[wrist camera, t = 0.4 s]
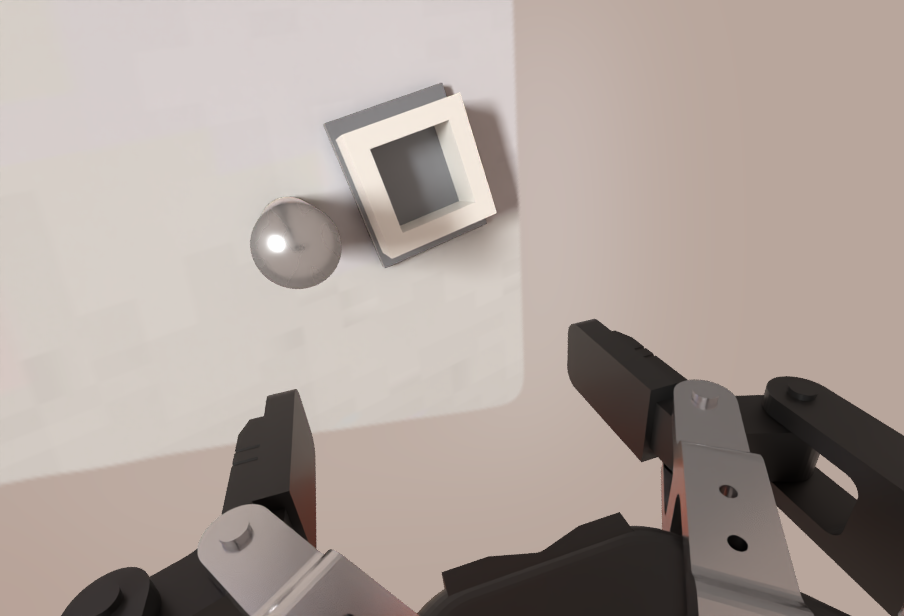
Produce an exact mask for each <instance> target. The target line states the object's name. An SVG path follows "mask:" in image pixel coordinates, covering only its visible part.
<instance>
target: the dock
mask: <svg viewBox="0 0 904 616" xmlns="http://www.w3.org/2000/svg"><path fill="white" fill-rule="evenodd" d="M324 128H325V130H326V133H327V135H328V137H329V140H330V142H331V144H332V147H333V149H334V152H335V154H336V156H337V159H338V161H339V163H340V166H341V168H342V171H343V173H344V175H345V178H346V180H347V183H348V185H349V187H350V190H351V192H352V194H353V197H354V199H355V202H356V204H357V206H358V209H359V211H360V213H361V216H362V218H363V221H364V223H365V225H366V228H367V230H368V232H369V235H370V237H371V240H372V242H373V244H374V247H375V249H376V251H377V254H378V256H379V259H380V261H381V263H382V266H383V267H384V268H387V267H389V266H391V265H394V264H396V263H398V262H400V261H403V260H405V259H407V258H410V257H412V256H414V255H416V254H419V253H421V252H423V251H425V250H428V249H430V248H432V247H435V246H437V245H439V244H441V243H444V242H446V241H448V240H450V239H453V238H455V237H457V236H460V235H462V234H464V233H466V232H469V231H471V230H473V229H475V228H478V227H480V226H482V225H485V224H487V223H486V220H485V218H487V217H489V216H491V215H494V214H496V213H497V212H496V208H495V205H494V202H493V199H492V195H491V192H490V189H489V185H488V182H487V179H486V176H485V172H484V169H483V166H482V163H481V159H480V156H479V153H478V149H477V146H476V143H475V140H474V136H473V133H472V130H471V126H470V123H469V120H468V117H467V113H466V110H465V107H464V103H463V100H462V97H461V94H460V93H457V94H454V95H451V96H449V97H447V96H446V93H445V90H444V87H443V84H442V83H439V84H437V85H434V86H431V87H428V88H425V89H422V90H419V91H416V92H414V93H411V94H408V95H405V96H402V97H399V98H396V99H393V100H391V101H388V102H385V103H382V104H379V105H376V106H373V107H371V108H368V109H365V110H362V111H359V112H356V113H353V114H350V115H348V116H345V117H342V118H339V119H336V120H333V121H330V122H327V123H325V124H324Z"/></svg>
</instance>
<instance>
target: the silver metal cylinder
mask: <svg viewBox="0 0 904 616" xmlns="http://www.w3.org/2000/svg"><path fill="white" fill-rule="evenodd" d="M250 248H251V254H252V257H253V260H254V262H255V264H256V266H257V267H258V269H259V270H260V271H261V273H262V274H263V275H264V276H265V277H266V278H268V279H269V280H270V281H272V282H274V283H276V284H278V285H280V286H283V287H286V288H292V289H303V288H309V287H312V286H315V285H317V284H319V283H321V282H323V281H324V280H326V279H327V278H328V277H329V276H330V275H331V274H332V273H333V272H334V270H335V268H336V267H337V265H338V263H339V260H340V256H341V239H340V235H339V232H338V230H337V228H336V226H335V224H334V223H333V221H332V220H331V219H330V218H329V217H328V216H327V215H326V214H325V213H324V212H322V211H321V210H319V209H318V208H316V207H314V206H312V205H310V204H308V203H307V202H305V201H303V200H301V199H298V198H294V197H281V198H278V199H276V200H274V201H272V202H271V203H269V204H268V205H267V206H266V207H265V209H264V211H263V212H262V214H261V216H260V217H259V219H258V221H257V222H256V224H255V226H254V228H253V231H252V234H251V240H250Z"/></svg>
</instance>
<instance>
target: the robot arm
mask: <svg viewBox="0 0 904 616" xmlns="http://www.w3.org/2000/svg"><path fill="white" fill-rule="evenodd" d="M567 366H568V367H567V368H568V374H569V377H570V380H571V382H572V384H573V386H574V387H575V388H576V389H577V391H578V392H579V393H580V394H581V395H582V396H583V397H584V398H585V400H586V401H587V402H588V403H589V404H590V405H591V406H592V407H593V408H594V410H595V411H596V412H597V413H598V414H599V415H600V416H601V417H602V419H603V420H604V421H605V422H606V423H607V424H608V425H609V426H610V427H611V429H612V430H613V431H614V432H615V433H616V434H617V435H618V436H619V437H620V439H621V440H622V441H623V442H624V443H625V444H626V445H627V446H628V447H629V449H631V451H632V452H633V453H634V454H635V455H636V457H637V458H638V459H639V460H640V461H641V462H644V461H647V460H650V459H653V458H656V457H659V458H660V460H662V467H661V498H662V499H661V501H662V530H661V529H657V528H651V527H644V526H629V524H628V523H627V522H626V520H625V519H624V518H623V516H622V515H621V514H620V512H619V513H616V514H613V515H610V516H607V517H604V518H601V519H598V520H595V521H592V522H589V523H586V524H583V525H581V526H578V527H577V528H575V529H574V530H572V531H571V532H569V533H568V534H567V535H565V536H564V537H562V538H561V539H559V540H558V541H557V542H555V543H554V544H552V545H551V546H549V547H548V548H547V549H545V550H543V551H541V552H538V553H529V554H517V555H504V556H490V557H486V558H483V559H480V560H477V561H474V562H471V563H468V564H465V565H462V566H460V567H456V568H453V569H450V570H448V571H444V572H442V576H443V582H444V588H445V589H444V590H442V591H441V592H440V593H438V594H437V595H435V596H434V597H433V598H432V599H431V600H430V601H429V602H427V603H426V604H425V605H424V606H423V607H422V609H421V610H420V611H419V612H418V613H415V612H414V611H413V610H411V609H410V608H409V607H408V606H407V605H405V604H404V603H403V602H401V601H400V600H399V599H397V598H396V597H395V596H394V595H393V594H391V593H390V592H389V591H388V590H386V589H385V588H384V587H382V586H381V585H380V584H379V583H377V582H376V581H375V580H374V579H372V578H371V577H370V576H368V575H367V574H366V573H365V572H363V571H362V570H361V569H360V568H358V567H357V566H356V565H354V564H353V563H352V562H350V561H349V560H348V559H347V558H346V557H344V556H343V555H342V554H340V553H339V552H337V551H335V550H332V549H330V550H328V551H327V552H326V553H325V554H322V553H321V552H320V551H318V550H317V549H316V481H315V480H316V477H315V476H316V475H315V474H316V473H315V448H314V442H313V437H312V433H311V430H310V427H309V423H308V420H307V417H306V414H305V411H304V408H303V404H302V401H301V398H300V395H299V392H298V391H297V389H294V390H290V391H286V392H282V393H278V394H273V395H269V396H267V400H266V407H265V413H264V416H263V417H259V418H255V419H251V420H249V421H248V423H247V424H246V426H245V427H244V428H243V430H242V431H241V432H240V434H239V435H238V440H237V444H236V450H235V451H236V454H234V459H233V467H232V468H231V473H230V478H229V482H228V487H227V492H226V496H225V501H224V506H223V510H222V515H221V516H220V517H218V518H217V519H216V520H215V521H214V522H212V523H211V525H210V526H209V527H208V528H207V529H206V530H205V532H204V533H203V535H202V537H201V539H200V541H199V544H198V549H196V550H195V551H194V552H192V553H191V554H189V555H188V556H186V557H184V558H183V559H181V560H179V561H178V562H176V563H174V564H172V565H170V566H168V567H167V568H165V569H163V570H161V571H160V572H158V573H156V574H154V575H152V576H150V577H149V576H148V574H147V573H146V572H145V571H144V570H142V569H140V568H137V567H127V568H122V569H118V570H115V571H113V572H110V573H108V574H106V575H104V576H102V577H100V578H99V579H97V580H96V581H94V582H93V583H91V584H90V585H89V586H87V587H86V588H85V589H84V590H82V591H81V592H80V593H79V594H78V595H77V596H76V597H75V598H74V599H73V600H72V602H71V603H70V604H69V605H68V606H67V608H66V609H65V611H64V612H63V614H62V615H61V616H850V615H848V614H846V613H844V612H842V611H840V610H838V609H836V608H833V607H831V606H829V605H827V604H825V603H823V602H821V601H818V600H816V599H814V598H812V597H810V596H808V595H806V594H804V593H801V592H800V590H799V586H798V583H797V579H796V576H795V572H794V568H793V564H792V561H791V558H790V554H789V550H788V546H787V543H786V539H785V535H784V532H783V528H782V525H781V521H780V517H779V514H778V510H777V507H779V509H781V510H782V511H783V512H784V513H785V514H786V515H787V516H788V517H789V518H790V519H791V520H792V521H793V522H794V523H795V524H796V525H797V526H798V527H799V528H800V529H801V530H802V531H803V532H805V533H806V534H807V535H808V536H809V537H810V538H811V539H812V540H813V541H814V542H815V543H816V544H817V545H818V546H819V547H820V548H821V549H822V550H823V551H824V552H825V553H826V554H827V555H828V556H830V557H831V558H832V559H833V560H834V561H835V562H836V563H837V564H838V565H839V566H840V567H841V568H842V569H843V570H844V571H845V572H846V573H847V574H848V575H849V576H850V577H851V578H852V579H853V580H855V582H857V583H858V584H859V585H860V586H861V587H862V588H863V589H864V590H865V591H866V592H867V593H868V594H869V595H870V596H871V597H872V598H873V599H874V600H875V601H876V602H877V603H879V604H880V606H882V607H883V608H884V609H885V610H886V611H887V612H888V613H889V614H890V615H891V616H904V436H903V435H902V434H900V433H898V432H897V431H895V430H894V429H892V428H890V427H889V426H887V425H885V424H884V423H882V422H881V421H879V420H877V419H876V418H874V417H872V416H871V415H869V414H868V413H866V412H864V411H863V410H861V409H860V408H858V407H856V406H855V405H853V404H851V403H850V402H848V401H847V400H845V399H843V398H842V397H840V396H838V395H837V394H835V393H834V392H832V391H830V390H829V389H827V388H826V387H824V386H822V385H820V384H818V383H815V382H813V381H810V380H807V379H803V378H798V377H787V376H786V377H777V378H774V379H772V380H770V381H769V382H768V383H767V386H766V390H765V393H764V395H750V396H735V395H734V394H733V393H732V392H731V391H729V390H728V389H727V388H725V387H723V386H721V385H719V384H716V383H713V382H710V381H705V380H687V379H686V378H684V377H683V376H682V375H680V374H679V373H678V372H677V371H675V370H674V369H672V368H671V367H670V366H669V365H667V364H666V363H664V362H663V361H662V360H661V359H659V358H658V357H657V356H654V355H653V353H652V352H650V351H649V350H647V349H646V348H645V349H644V346H642V345H641V344H640V343H639V342H637V341H636V340H635V339H633V338H632V337H630V336H627V335H625V334H622V333H620V332H617V331H611V330H609V329H608V328H607V327H606V326H604V325H603V324H602V323H601V322H599V321H598V320H596V319H592V320H588V321H584V322H579V323H575V324H571V326H570V327H569V331H568V363H567ZM820 454H821V455H822V456H823V457H825V458H826V459H827V460H829V461H830V462H831V463H833V464H834V465H835V466H837V467H838V468H839V469H840V470H842V471H843V472H844V473H846V474H847V475H848V476H849V477H850V478H851V479H852V481H853V482H854V484H855V485H856V487H857V490H858V499H857V500H856V499H855V498H854V497H853V496H851V495H850V494H849V493H847V492H846V491H845V490H844V489H843V488H841V487H840V486H839V485H837V484H836V483H835V482H834V481H832V480H831V479H830V478H829V477H828V476H826V475H825V474H824V473H823V472H821V471H820V470H819V469H818V468H816V467H815V465H816V463H817V460H818V457H819V455H820Z"/></svg>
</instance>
